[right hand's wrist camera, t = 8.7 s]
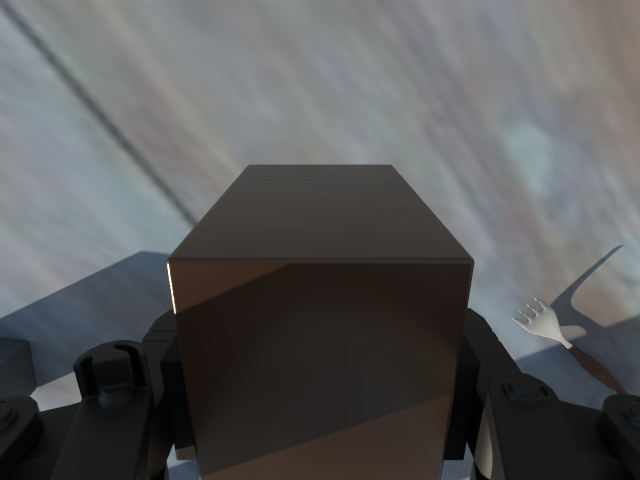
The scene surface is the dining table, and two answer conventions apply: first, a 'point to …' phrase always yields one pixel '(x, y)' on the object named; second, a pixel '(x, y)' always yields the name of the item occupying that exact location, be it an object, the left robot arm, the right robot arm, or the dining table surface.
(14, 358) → the slate block
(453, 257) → the plank
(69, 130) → the dining table surface
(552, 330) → the fork
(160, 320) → the right robot arm
